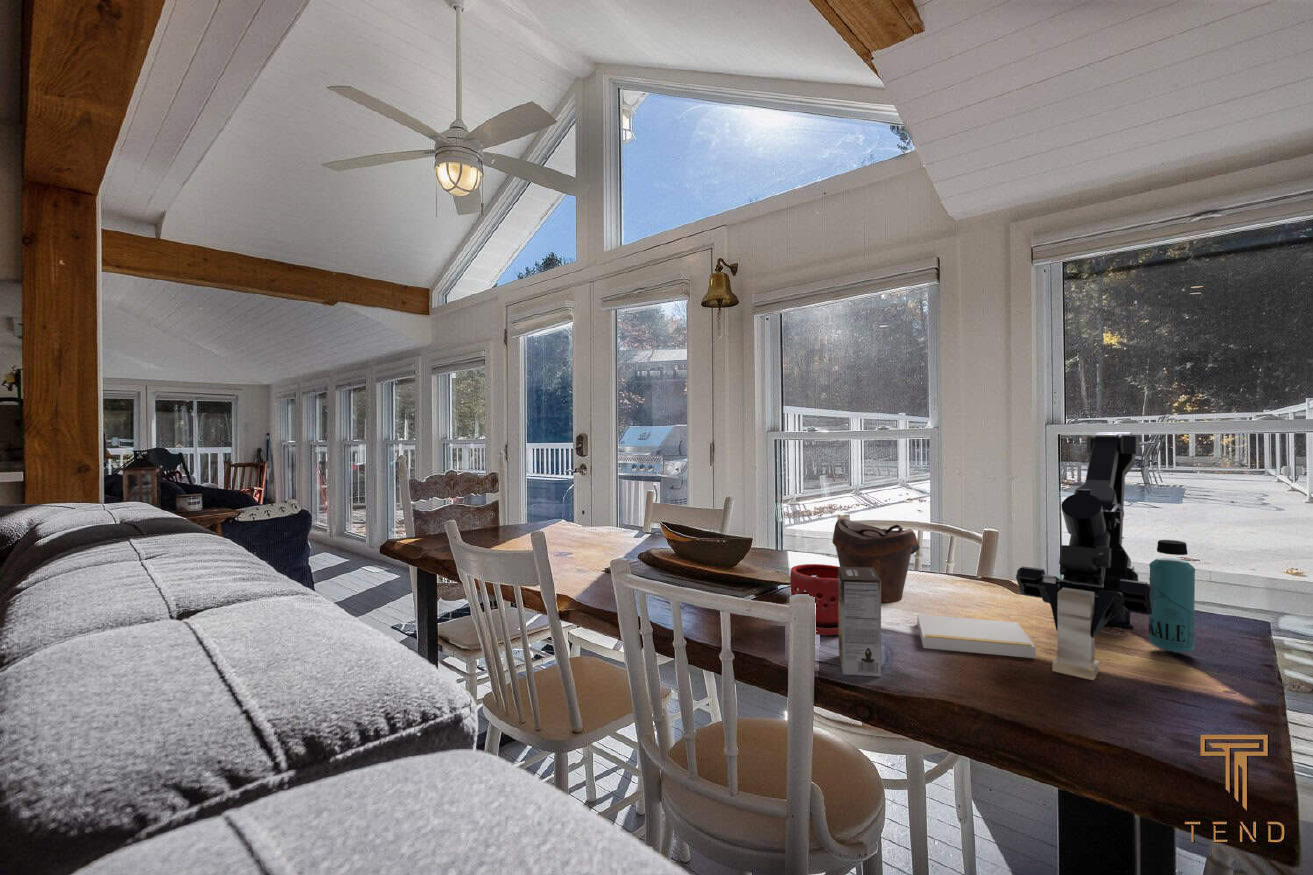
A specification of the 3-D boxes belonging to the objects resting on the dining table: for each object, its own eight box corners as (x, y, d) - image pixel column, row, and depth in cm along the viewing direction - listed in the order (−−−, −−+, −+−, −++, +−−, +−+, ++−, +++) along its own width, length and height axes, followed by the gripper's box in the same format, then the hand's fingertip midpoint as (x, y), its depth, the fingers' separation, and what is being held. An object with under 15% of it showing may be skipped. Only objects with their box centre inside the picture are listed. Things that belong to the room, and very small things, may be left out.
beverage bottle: (1185, 649, 111) (1185, 537, 111) (1204, 662, 105) (1204, 544, 105) (1141, 645, 113) (1141, 536, 113) (1157, 658, 107) (1157, 543, 107)
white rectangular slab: (1017, 632, 121) (1017, 621, 121) (1035, 658, 108) (1035, 645, 108) (917, 624, 127) (917, 613, 127) (923, 647, 114) (923, 635, 114)
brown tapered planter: (933, 605, 139) (932, 525, 139) (844, 607, 140) (842, 527, 140) (903, 586, 157) (901, 515, 157) (823, 587, 157) (822, 517, 157)
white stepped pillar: (1060, 661, 107) (1059, 586, 106) (1099, 669, 103) (1099, 591, 102) (1052, 670, 103) (1052, 592, 102) (1093, 680, 99) (1093, 598, 98)
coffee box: (837, 654, 111) (836, 565, 111) (875, 656, 110) (874, 566, 110) (842, 675, 102) (841, 578, 102) (883, 677, 101) (882, 579, 101)
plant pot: (818, 644, 117) (817, 580, 116) (777, 624, 129) (777, 566, 128) (872, 633, 122) (871, 573, 122) (828, 615, 134) (828, 560, 134)
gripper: (1018, 521, 111) (1001, 595, 104) (1150, 532, 99) (1142, 618, 91) (1029, 557, 117) (1014, 630, 110) (1156, 572, 104) (1148, 656, 97)
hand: (1074, 632), depth 101 cm, fingers closed on white stepped pillar, 4 cm apart
